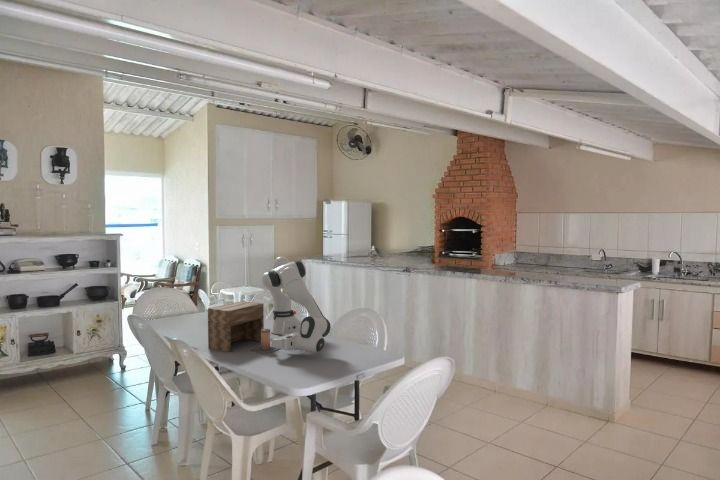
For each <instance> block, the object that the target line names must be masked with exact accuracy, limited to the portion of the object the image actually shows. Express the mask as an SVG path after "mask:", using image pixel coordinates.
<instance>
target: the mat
mask: <svg viewBox="0 0 720 480" xmlns="http://www.w3.org/2000/svg"><path fill="white" fill-rule="evenodd" d="M281 349H282V348H277V347H273V346H272V345H270V350H266V351H263V350H261V346H260V347H256V348H253V349H250V350H249V352H253V353H260V354H265V355H268V354H271V353H273V352H276V351H279V350H281Z"/></svg>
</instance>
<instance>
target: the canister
mask: <svg viewBox="0 0 720 480" xmlns="http://www.w3.org/2000/svg"><path fill="white" fill-rule="evenodd" d="M270 338H271V329H270V328H264V329H261V341H260V347H261V350H263V351H266V350H270V346H271V341H270Z"/></svg>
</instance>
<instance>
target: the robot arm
mask: <svg viewBox="0 0 720 480" xmlns="http://www.w3.org/2000/svg"><path fill="white" fill-rule="evenodd" d="M306 271H307V269H306V267H305V265H304V263H303V262H302V261H300V260H293V259H292V261H290V260H289V259H288V258H287V257H286V256H278V257H276V258H275V259H274V261H273V264H272V269H270V270H269V271H268V272H267V271H266V272H264V273H263V274H262V276H261V279H260V280H261V285H262V287H263V288H265V289H266V290H267V291H268V292H269V294H270V295H271V297H272V303H273V304H272V305H273V309H272V321H273V322H272V328H271V330H270V334H273V335H281V336H279V337H278V336H277V337H276V338H275V337H270V343H271V347H276V348H281V349H284V350H285V351H292V350H295V351H296V350H297V351H305V352H309V353H318V352H321V351H322V350H323V348H324V347H325V345H326V344H325V343H326V341H325V340H326V339H324V338H325V337H327V336H328V335H329V334H330V331H331V322H330V321H329V320H328V318H326V317H325V315H323V312H322V311H321V309H320V307H319V305H318V304H317V302H316V300H315V299H314V297H313V295H312V294H311V293H310V291H309V290H308V288H307V285H306V284H305V283H304V279H303V278H304V277H306V273H307V272H306ZM282 289H283V290H284V291H285V293H284V292H282ZM292 301H293V302H295V303H297V304H299V305H301V306H302V307H303V308H305V309H306V311H307V313H308V314H309V315H307V316H305V317H304V318H303V319H302V320H301V319H299V318H298V317H297V316H295V315H296V314H297V311H296V310H293V309H292Z"/></svg>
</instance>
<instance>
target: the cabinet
mask: <svg viewBox="0 0 720 480" xmlns="http://www.w3.org/2000/svg"><path fill="white" fill-rule="evenodd" d="M264 315H265V314H264V303H261V302H255V301H247V300H246V301H245V300H240V301H237V302H232V303H226V304H221V305H217V306H213V307H208V308H207V343H208V345H207V347H208V349H211V350H216V351H222V352H226V353H231V352H232V343H233V342H237V341H241V340H242V339H243V340H250V341H256V342H261V329H265V327H264V326H265V325H264V323H265V322H264V321H265V320H264V319H265V318H264V317H265V316H264Z"/></svg>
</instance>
